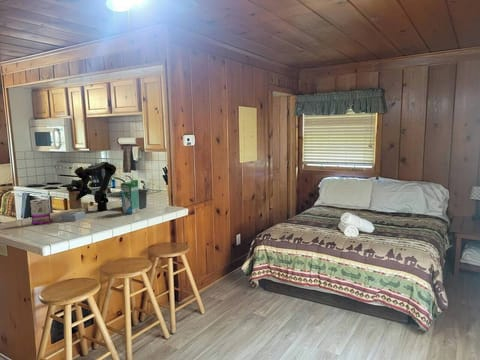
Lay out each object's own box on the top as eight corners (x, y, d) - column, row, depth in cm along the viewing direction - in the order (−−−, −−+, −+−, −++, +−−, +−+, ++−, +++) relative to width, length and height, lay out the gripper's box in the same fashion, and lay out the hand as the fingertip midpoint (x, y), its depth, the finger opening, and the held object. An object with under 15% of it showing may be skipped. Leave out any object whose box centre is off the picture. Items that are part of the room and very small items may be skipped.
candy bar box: (51, 221, 245) (49, 198, 243) (50, 223, 241) (48, 199, 239) (32, 223, 240) (30, 199, 238) (31, 225, 236) (29, 201, 234)
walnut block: (75, 207, 257) (74, 191, 256) (81, 207, 255) (80, 191, 254) (69, 209, 252) (68, 192, 250) (75, 209, 250) (74, 192, 249)
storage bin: (119, 208, 288) (117, 191, 286) (131, 204, 302) (130, 188, 300) (140, 210, 280) (139, 192, 278) (152, 206, 294) (151, 189, 292)
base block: (72, 217, 259) (71, 211, 258) (85, 218, 256) (85, 211, 256) (61, 221, 248) (61, 214, 247) (75, 221, 246) (75, 215, 245)
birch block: (84, 211, 277) (83, 201, 276) (88, 212, 275) (87, 202, 274) (78, 213, 273) (77, 202, 272) (82, 213, 271) (82, 203, 270)
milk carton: (122, 213, 268) (120, 180, 265) (130, 211, 276) (128, 179, 273) (132, 214, 264) (130, 181, 261) (139, 211, 273) (137, 179, 270)
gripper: (67, 175, 257) (56, 192, 248) (88, 175, 251) (77, 193, 242) (76, 184, 266) (65, 201, 257) (96, 185, 260) (86, 202, 251)
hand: (73, 199), depth 251 cm, fingers closed on walnut block, 5 cm apart
